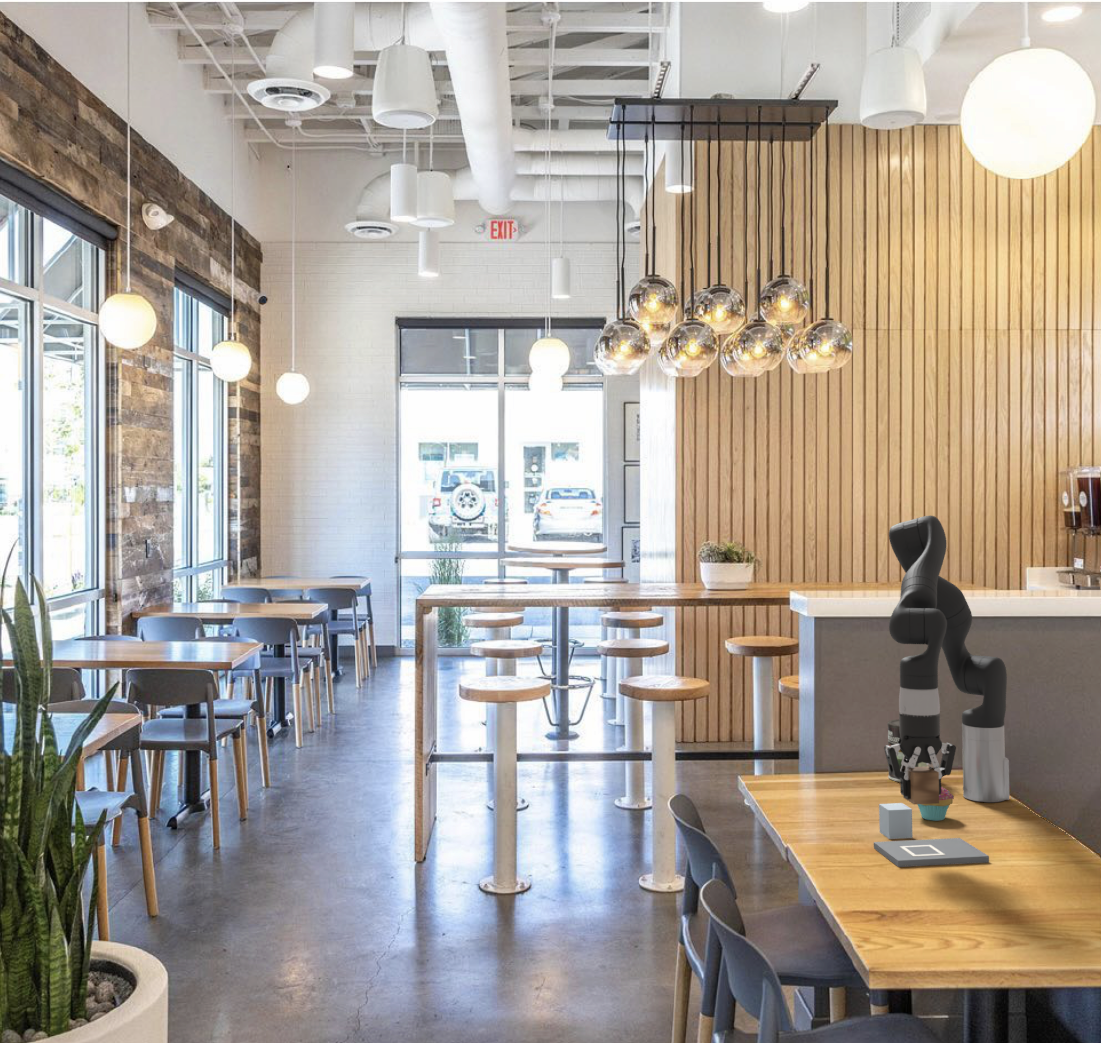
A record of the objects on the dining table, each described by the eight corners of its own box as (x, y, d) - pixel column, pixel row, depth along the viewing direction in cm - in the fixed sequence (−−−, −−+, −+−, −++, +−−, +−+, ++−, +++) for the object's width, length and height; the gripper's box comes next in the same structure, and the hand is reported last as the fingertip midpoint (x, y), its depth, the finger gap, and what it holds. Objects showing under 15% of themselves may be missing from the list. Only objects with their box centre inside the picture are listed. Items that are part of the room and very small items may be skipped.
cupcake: (959, 817, 240) (958, 762, 240) (943, 825, 234) (942, 769, 234) (922, 810, 246) (921, 757, 246) (905, 818, 240) (904, 764, 240)
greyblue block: (902, 831, 231) (901, 803, 231) (912, 838, 226) (912, 809, 226) (879, 832, 230) (879, 804, 230) (889, 839, 225) (888, 810, 225)
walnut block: (927, 796, 215) (927, 766, 215) (939, 803, 210) (938, 772, 210) (903, 797, 215) (902, 767, 215) (914, 804, 210) (913, 773, 210)
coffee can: (898, 784, 270) (897, 727, 270) (881, 774, 280) (880, 720, 280) (938, 782, 271) (937, 725, 271) (920, 773, 281) (919, 718, 281)
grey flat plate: (959, 843, 221) (959, 837, 221) (989, 862, 209) (988, 855, 209) (873, 848, 219) (873, 841, 219) (898, 867, 207) (898, 860, 207)
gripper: (946, 706, 217) (947, 791, 217) (876, 708, 216) (877, 794, 216) (963, 712, 210) (965, 801, 210) (891, 715, 208) (893, 804, 208)
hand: (920, 797), depth 213 cm, fingers closed on walnut block, 5 cm apart
